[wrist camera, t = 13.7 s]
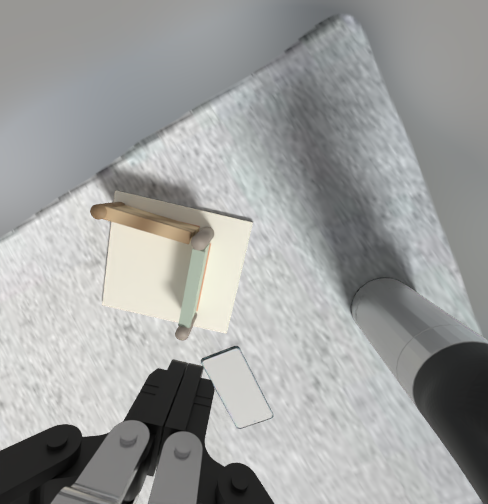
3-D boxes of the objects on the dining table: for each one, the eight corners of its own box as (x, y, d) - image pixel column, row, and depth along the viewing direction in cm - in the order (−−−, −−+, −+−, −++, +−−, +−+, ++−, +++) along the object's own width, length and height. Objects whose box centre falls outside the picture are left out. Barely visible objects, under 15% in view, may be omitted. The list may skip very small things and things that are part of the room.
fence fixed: (216, 227, 41) (208, 236, 34) (197, 319, 44) (186, 344, 37) (202, 224, 41) (192, 232, 34) (185, 316, 44) (172, 341, 37)
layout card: (252, 222, 40) (252, 222, 40) (227, 331, 45) (226, 333, 44) (116, 190, 40) (114, 190, 39) (104, 303, 44) (101, 305, 44)
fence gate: (199, 225, 40) (190, 232, 34) (196, 237, 40) (187, 246, 34) (115, 199, 39) (91, 202, 34) (112, 212, 40) (89, 217, 34)
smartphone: (238, 345, 45) (274, 417, 48) (238, 343, 45) (274, 415, 48) (199, 360, 46) (237, 429, 49) (200, 358, 46) (237, 427, 49)
